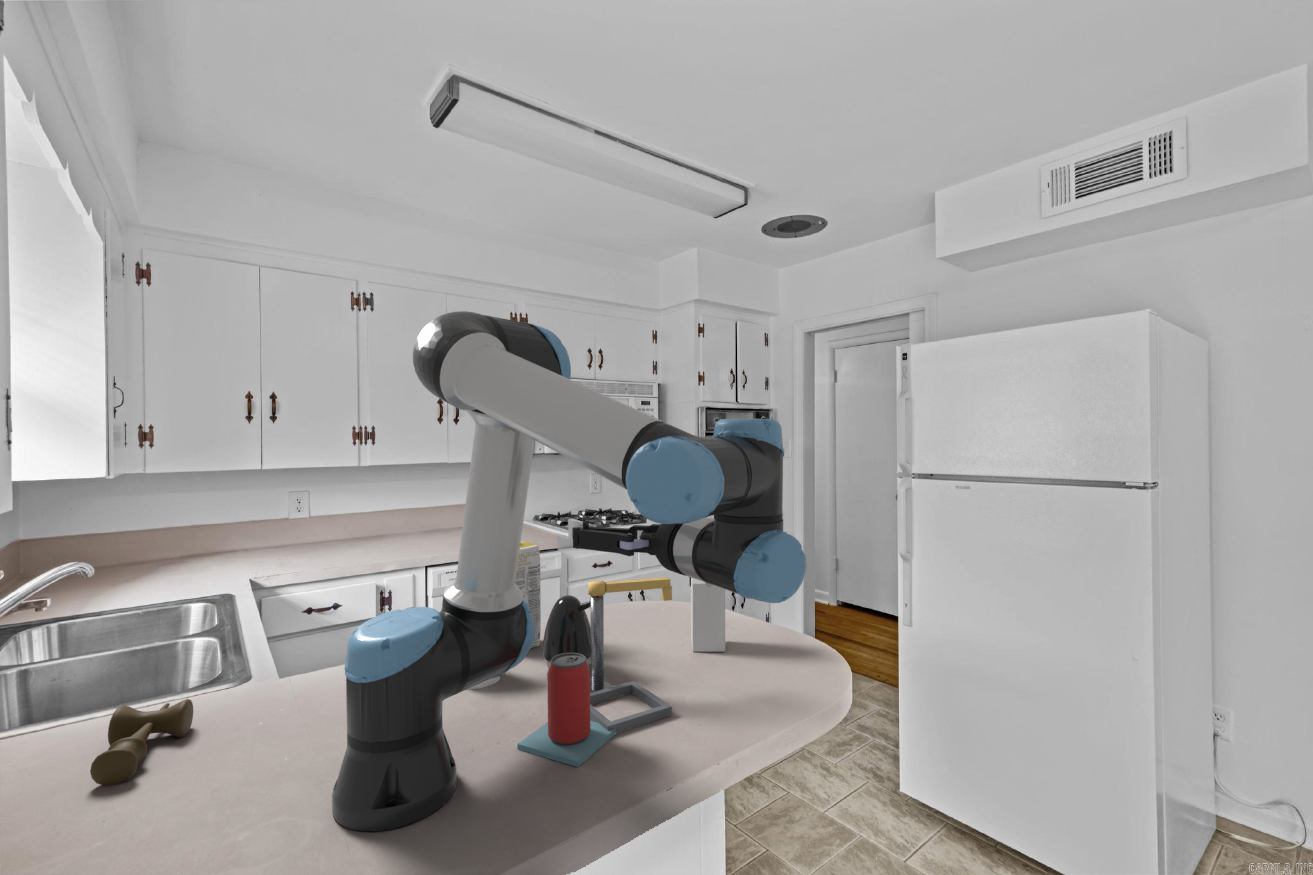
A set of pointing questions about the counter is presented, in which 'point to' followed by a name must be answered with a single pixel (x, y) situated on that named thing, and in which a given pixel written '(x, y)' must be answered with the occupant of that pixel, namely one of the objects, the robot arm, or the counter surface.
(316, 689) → the counter surface
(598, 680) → the post
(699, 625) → the milk carton
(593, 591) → the clip arm
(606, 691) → the collar
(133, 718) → the kendama
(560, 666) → the beer can
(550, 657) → the pump dispenser
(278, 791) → the counter surface
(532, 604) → the juice carton
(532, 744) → the mat
